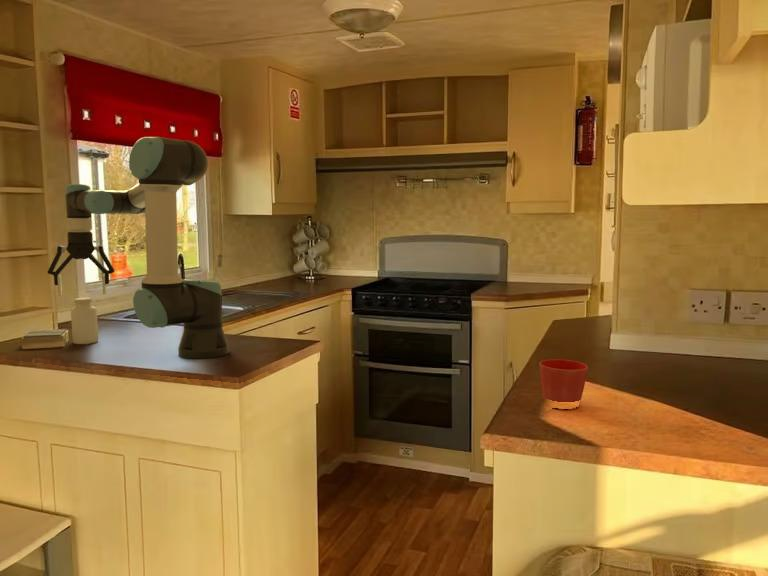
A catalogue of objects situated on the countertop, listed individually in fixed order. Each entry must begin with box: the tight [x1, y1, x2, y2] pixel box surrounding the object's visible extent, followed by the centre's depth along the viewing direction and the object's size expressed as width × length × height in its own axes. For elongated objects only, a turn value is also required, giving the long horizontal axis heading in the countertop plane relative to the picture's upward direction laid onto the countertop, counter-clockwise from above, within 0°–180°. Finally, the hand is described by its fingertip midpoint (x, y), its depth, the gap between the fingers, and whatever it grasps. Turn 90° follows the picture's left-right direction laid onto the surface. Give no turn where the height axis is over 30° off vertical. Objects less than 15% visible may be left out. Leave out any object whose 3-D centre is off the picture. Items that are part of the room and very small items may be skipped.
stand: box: [21, 328, 70, 350], centre depth 217 cm, size 12×12×4 cm
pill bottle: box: [70, 297, 99, 345], centre depth 220 cm, size 8×8×15 cm
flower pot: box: [538, 358, 589, 411], centre depth 149 cm, size 11×11×10 cm
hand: (82, 294), depth 219 cm, fingers open, 13 cm apart
